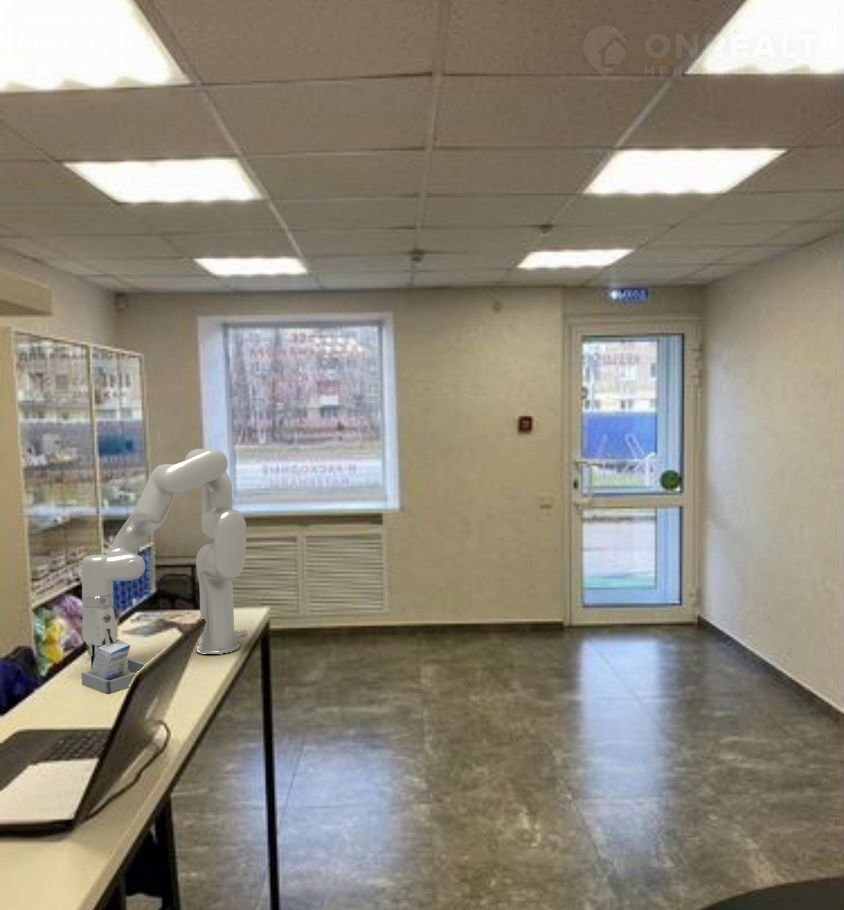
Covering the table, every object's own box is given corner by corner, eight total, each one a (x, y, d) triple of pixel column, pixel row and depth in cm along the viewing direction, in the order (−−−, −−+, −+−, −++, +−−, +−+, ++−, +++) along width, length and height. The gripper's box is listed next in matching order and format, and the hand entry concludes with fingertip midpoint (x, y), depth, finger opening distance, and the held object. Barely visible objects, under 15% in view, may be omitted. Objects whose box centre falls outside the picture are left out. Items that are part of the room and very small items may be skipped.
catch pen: (130, 669, 197) (130, 658, 197) (157, 678, 190) (156, 667, 189) (81, 684, 187) (81, 672, 187) (107, 694, 179) (107, 682, 179)
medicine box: (102, 683, 186) (111, 653, 185) (88, 676, 188) (97, 646, 186) (122, 673, 194) (131, 644, 193) (109, 667, 195) (118, 638, 194)
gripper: (125, 602, 191) (126, 671, 191) (97, 595, 200) (98, 661, 200) (98, 607, 185) (98, 678, 185) (70, 600, 194) (71, 668, 194)
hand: (98, 669), depth 193 cm, fingers closed
